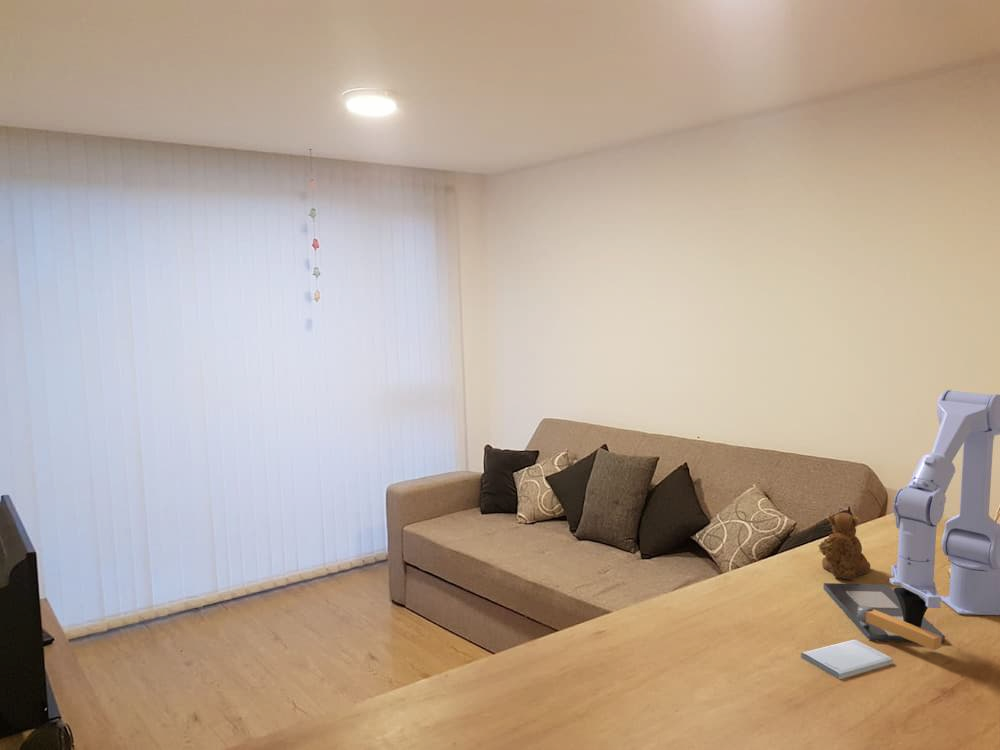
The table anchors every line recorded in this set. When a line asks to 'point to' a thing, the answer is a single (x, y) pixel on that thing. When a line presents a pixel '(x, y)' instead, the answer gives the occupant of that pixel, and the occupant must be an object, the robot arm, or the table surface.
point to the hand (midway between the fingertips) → (912, 630)
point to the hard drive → (847, 659)
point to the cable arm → (899, 627)
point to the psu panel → (876, 598)
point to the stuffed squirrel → (843, 548)
